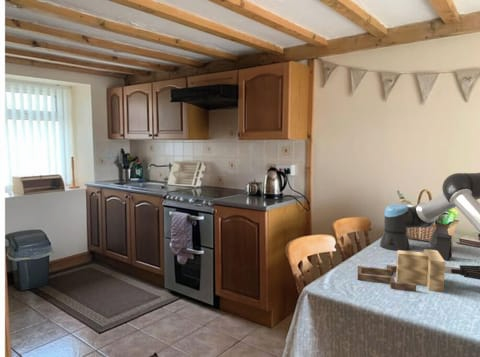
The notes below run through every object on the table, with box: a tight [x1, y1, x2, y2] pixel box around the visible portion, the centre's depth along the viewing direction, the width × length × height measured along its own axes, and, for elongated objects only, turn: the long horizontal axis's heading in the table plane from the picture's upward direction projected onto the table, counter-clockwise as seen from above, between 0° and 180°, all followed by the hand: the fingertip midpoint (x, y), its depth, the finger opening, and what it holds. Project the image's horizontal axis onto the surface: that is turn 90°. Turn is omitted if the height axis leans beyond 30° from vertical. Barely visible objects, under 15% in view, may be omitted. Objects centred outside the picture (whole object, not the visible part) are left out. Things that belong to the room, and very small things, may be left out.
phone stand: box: [434, 233, 453, 262], centre depth 183 cm, size 9×6×12 cm, turn 138°
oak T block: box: [395, 248, 446, 293], centre depth 150 cm, size 16×16×12 cm
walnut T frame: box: [357, 264, 417, 293], centre depth 154 cm, size 22×22×2 cm
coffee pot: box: [428, 217, 453, 249], centre depth 206 cm, size 21×12×15 cm, turn 151°
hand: (441, 269), depth 146 cm, fingers closed
